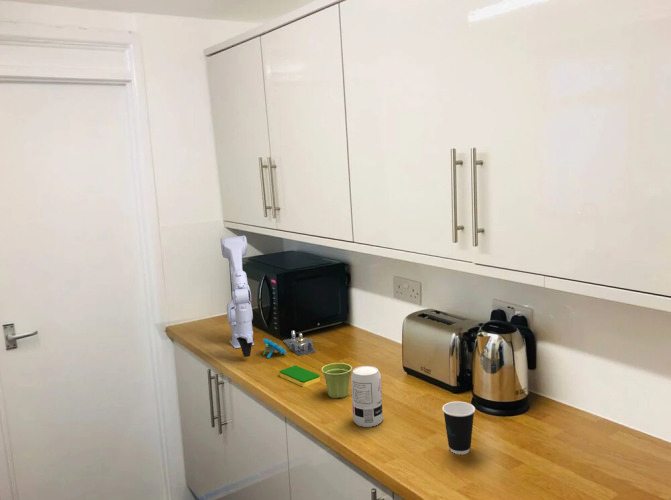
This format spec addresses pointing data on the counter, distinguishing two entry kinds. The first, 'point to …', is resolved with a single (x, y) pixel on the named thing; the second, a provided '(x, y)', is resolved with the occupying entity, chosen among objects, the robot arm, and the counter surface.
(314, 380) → the dish sponge
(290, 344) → the gear board
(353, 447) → the counter surface
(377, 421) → the supplement can
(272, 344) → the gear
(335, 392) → the plant pot
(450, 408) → the dixie cup
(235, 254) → the robot arm
